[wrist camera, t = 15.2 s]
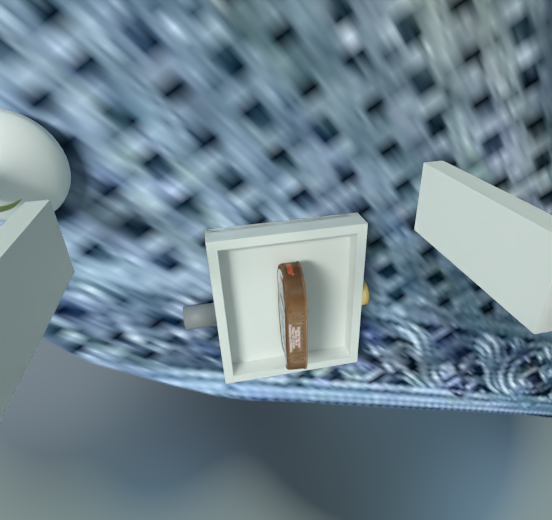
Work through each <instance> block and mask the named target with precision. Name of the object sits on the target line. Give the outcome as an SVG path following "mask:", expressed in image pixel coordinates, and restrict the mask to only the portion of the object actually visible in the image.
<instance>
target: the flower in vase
mask: <svg viewBox="0 0 552 520" xmlns="http://www.w3.org/2000/svg"><path fill="white" fill-rule="evenodd" d="M70 185H71V172H70V166H69V162H68V160H67V157H66V155H65V153H64V151H63V149H62V148H61V146H60V145H59V143H58V142H57V141H56V139H55V138H54V137H53V136H52V135H51V134H50V133H49V132H48V131H47V130H46V129H45V128H43V127H42V126H41V125H39V124H38V123H37V122H35V121H33V120H32V119H30V118H28V117H26V116H24V115H22V114H19V113H16V112H13V111H10V110H5V109H0V220H4V221H7V220H8V219H9V218H10V217H11V216H12V215H13V214H14V213H15V212H16V211H17V210H18V209H19V208H20V207H21V206H22V205H23V204H24V203H25V202H31V201H41V200H50V201H51V204H52V207H53V210H54V211H56V210H57V209H58V208H59V207H60V206H61V205H62V203H63V202H64V201H65V199H66V197H67V195H68V192H69V189H70Z"/></svg>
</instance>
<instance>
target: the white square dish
mask: <svg viewBox="0 0 552 520" xmlns="http://www.w3.org/2000/svg"><path fill="white" fill-rule="evenodd" d="M367 228H368V223H367V222H366V221H365V220H364V219H363V218H362V217H361V216H360V214H359V213H358V212H356V213H348V214H339V215H330V216H321V217H313V218H304V219H295V220H286V221H278V222H269V223H260V224H251V225H243V226H234V227H225V228H216V229H208V230H205V244H206V250H207V257H208V264H209V271H210V278H211V285H212V292H213V299H214V303H207V304H200V305H193V306H186V307H183V315H184V323H185V328H186V330H190V329H196V328H203V327H210V326H218V333H219V340H220V347H221V354H222V361H223V368H224V375H225V382H226V384H228V383H233V382H239V381H245V380H251V379H257V378H263V377H269V376H275V375H281V374H287V373H293V372H299V371H305V370H311V369H317V368H323V367H329V366H335V365H341V364H347V363H353V362H357V356H358V343H359V330H360V317H361V305H366V304H368V303H369V290H368V286H367V284H366V282H365V281H364V280H363V279H364V266H365V253H366V241H367ZM296 261H299V262H300V264H301V267H302V272H303V275H304V281H305V287H306V297H307V310H308V363H307V368H306V369H294V370H288V369H287V368H286V359H285V354H284V351H283V348H282V342H281V334H280V322H279V307H278V279H277V269H278V265H279V264H282V263H290V262H296Z"/></svg>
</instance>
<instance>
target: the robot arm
mask: <svg viewBox="0 0 552 520" xmlns="http://www.w3.org/2000/svg"><path fill="white" fill-rule="evenodd" d="M414 230H415V231H416V232H418V233H419V234H420V235H421V236H422V237H423V238H424V239H426V240H427V241H428V242H429V243H430V244H431V245H432V246H434V247H435V248H436V249H437V250H438V251H439V252H440V253H442V254H443V255H444V256H445V257H446V258H447V259H449V260H450V261H451V262H452V263H453V264H454V265H455V266H457V267H458V268H459V269H460V270H461V271H462V272H463V273H465V274H466V275H467V276H468V277H469V278H470V279H471V280H473V281H474V282H475V283H476V284H477V285H478V286H479V287H481V288H482V289H483V290H484V291H485V292H486V293H487V294H489V295H490V296H491V297H492V298H493V299H494V300H496V301H497V302H498V303H499V304H500V305H501V306H502V307H504V308H505V309H506V310H507V311H508V312H509V313H510V314H512V315H513V316H514V317H515V318H516V319H517V320H518V321H520V322H521V323H522V324H523V325H524V326H525V327H526V328H528V329H529V330H530V331H531V332H532V333H533V334H538V333H544V332H550V331H552V215H551V214H549V213H547V212H545V211H543V210H541V209H539V208H537V207H535V206H533V205H531V204H529V203H527V202H525V201H523V200H521V199H519V198H517V197H515V196H513V195H511V194H509V193H507V192H505V191H503V190H501V189H499V188H497V187H495V186H493V185H491V184H489V183H487V182H485V181H483V180H481V179H479V178H477V177H475V176H473V175H471V174H469V173H467V172H464V171H462V170H460V169H458V168H456V167H454V166H452V165H450V164H448V163H446V162H444V161H435V162H425V163H424V165H423V172H422V179H421V186H420V193H419V201H418V208H417V215H416V222H415V229H414ZM73 274H74V269H73V266H72V263H71V260H70V257H69V254H68V251H67V248H66V245H65V242H64V239H63V236H62V233H61V230H60V227H59V224H58V222H57V219H56V216H55V213H54V210H53V207H52V204H51V201H50V200H41V201H31V202H25V203H24V204H23V205H22V206H21V207H20V208H19V209H18V210H17V211H16V212H15V213H14V214H13V215H12V216H11V217H10V218H9V219H8V220H7V221H6V222H5V223H4V224H3V225H2V226H1V227H0V422H1V420H2V417H3V416H4V413H5V411H6V409H7V407H8V405H9V403H10V401H11V399H12V397H13V395H14V393H15V391H16V389H17V387H18V385H19V383H20V381H21V379H22V377H23V375H24V373H25V371H26V369H27V367H28V365H29V363H30V361H31V359H32V357H33V355H34V353H35V351H36V349H37V347H38V344H39V342H40V341H41V338H42V336H43V334H44V332H45V330H46V328H47V326H48V324H49V322H50V320H51V318H52V316H53V314H54V312H55V310H56V308H57V306H58V304H59V302H60V300H61V298H62V296H63V294H64V292H65V290H66V288H67V286H68V284H69V282H70V280H71V278H72V276H73Z"/></svg>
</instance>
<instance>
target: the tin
mask: <svg viewBox="0 0 552 520" xmlns="http://www.w3.org/2000/svg"><path fill="white" fill-rule="evenodd" d="M277 279H278V307H279V322H280V334H281V342H282V348H283V351H284V354H285V359H286V368H287V369H288V370H294V369H306V368H307V363H308V310H307V297H306V287H305V281H304V275H303V272H302V267H301V264H300V262H299V261H296V262H290V263H282V264H279V265H278V269H277Z"/></svg>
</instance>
